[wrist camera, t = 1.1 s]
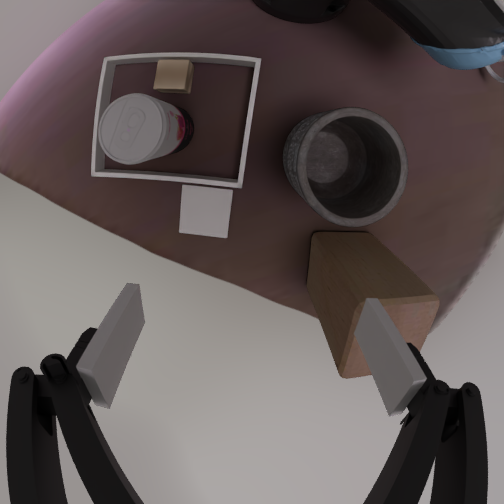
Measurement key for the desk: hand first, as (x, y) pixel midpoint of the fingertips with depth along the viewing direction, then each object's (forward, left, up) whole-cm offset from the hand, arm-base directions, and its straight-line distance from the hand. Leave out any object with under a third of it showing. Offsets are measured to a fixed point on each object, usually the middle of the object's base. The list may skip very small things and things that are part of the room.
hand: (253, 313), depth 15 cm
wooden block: (+7, +15, -26) cm, 31 cm away
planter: (-8, +9, -26) cm, 28 cm away
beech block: (-17, -12, -26) cm, 33 cm away
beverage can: (-9, -12, -26) cm, 30 cm away
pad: (+2, -6, -25) cm, 26 cm away
